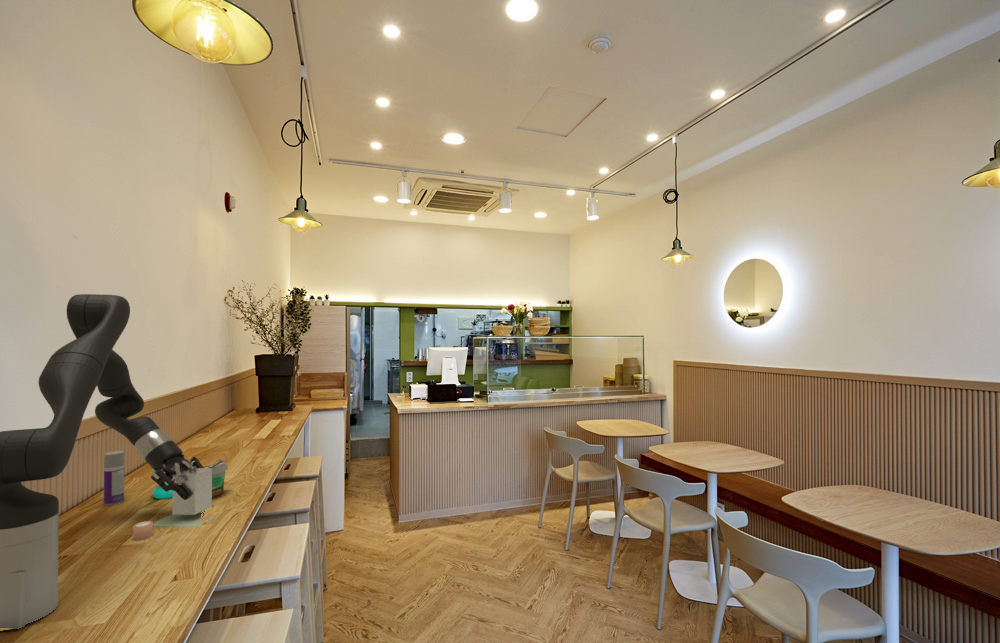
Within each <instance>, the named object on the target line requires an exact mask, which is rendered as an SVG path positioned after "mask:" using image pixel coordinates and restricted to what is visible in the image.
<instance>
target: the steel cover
mask: <svg viewBox="0 0 1000 643" xmlns="http://www.w3.org/2000/svg"><path fill="white" fill-rule="evenodd" d="M174 476H175V474H174V475H173V477H174ZM178 479H179V480H180V481H181V482H182V484H181V485H184V486H185V487H186V488H187V489H188V490H189V491H190V492H191V494H192V495H191V496H190V497H189V498H188V499H187V500H184V499H182V498H181V497H180V496H179V495H178V494H177V493H176V491H173V496H172V498H171V499H172V506H171V508H172V509H171V512H172V513H171V514H174V515H196V514H197V513H199V512H201V511H203V510H205V509H207V508H209V507H211V506H213V503H212V502H213V499H212V468H196V466H193V467H190V468H189V470H186V471H184V472H181V474H179V475H178ZM174 483H176V481H174Z"/></svg>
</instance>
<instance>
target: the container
mask: <svg viewBox="0 0 1000 643" xmlns="http://www.w3.org/2000/svg"><path fill="white" fill-rule="evenodd" d="M103 462H104V463H103V466H104V467H103V505H104V506H105V507H108V506H110V505H111V506H115V505H119V503H120V504H122V503H123V502H125V451H124V450H114V451H109V452H105V453H104V460H103Z"/></svg>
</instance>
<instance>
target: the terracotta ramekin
mask: <svg viewBox="0 0 1000 643" xmlns="http://www.w3.org/2000/svg"><path fill="white" fill-rule="evenodd" d="M153 523H154V521H152V520H147V521H146V520H145V521H140V522H137V523H135V524H134V525H133V527H132V529H133V530H132V534H133V537H132V539H133V540H134V541H143V540H146V539H149V538H151V537H152V536H153V535H154V533H153V532H154V531H153V528H154V526H153Z"/></svg>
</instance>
